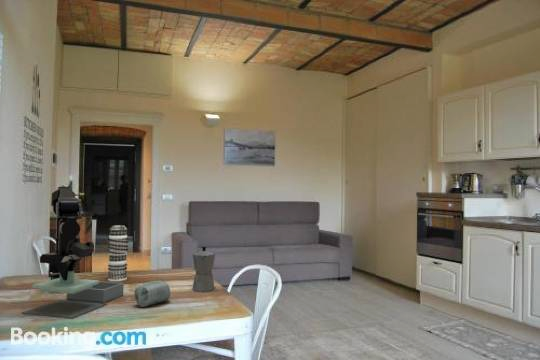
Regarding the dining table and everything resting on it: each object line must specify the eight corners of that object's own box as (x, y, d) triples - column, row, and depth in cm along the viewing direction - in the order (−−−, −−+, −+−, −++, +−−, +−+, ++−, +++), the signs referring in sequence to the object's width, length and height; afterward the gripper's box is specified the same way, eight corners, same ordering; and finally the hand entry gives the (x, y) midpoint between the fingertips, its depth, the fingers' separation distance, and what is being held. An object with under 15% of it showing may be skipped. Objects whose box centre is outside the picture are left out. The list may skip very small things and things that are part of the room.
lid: (32, 291, 138) (32, 273, 139) (60, 283, 151) (60, 266, 151) (73, 295, 134) (74, 276, 134) (99, 286, 146) (99, 269, 147)
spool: (143, 302, 140) (143, 273, 145) (128, 310, 145) (128, 282, 150) (177, 304, 149) (175, 278, 154) (162, 312, 154) (160, 286, 159)
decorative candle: (123, 281, 187) (124, 226, 187) (103, 281, 187) (104, 226, 188) (130, 277, 196) (131, 224, 197) (111, 277, 196) (112, 224, 197)
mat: (21, 313, 136) (21, 312, 136) (60, 300, 153) (60, 299, 153) (72, 318, 131) (72, 317, 131) (106, 305, 148) (106, 303, 148)
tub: (66, 300, 153) (66, 287, 153) (88, 293, 165) (88, 280, 165) (103, 303, 149) (103, 290, 149) (123, 295, 161) (123, 283, 161)
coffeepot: (216, 292, 167) (216, 248, 168) (192, 293, 165) (193, 249, 166) (212, 284, 182) (213, 243, 183) (191, 285, 180) (191, 244, 181)
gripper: (67, 238, 132) (66, 287, 131) (105, 233, 150) (104, 276, 149) (39, 237, 135) (37, 285, 134) (79, 232, 153) (78, 274, 152)
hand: (66, 280), depth 143 cm, fingers closed on lid
